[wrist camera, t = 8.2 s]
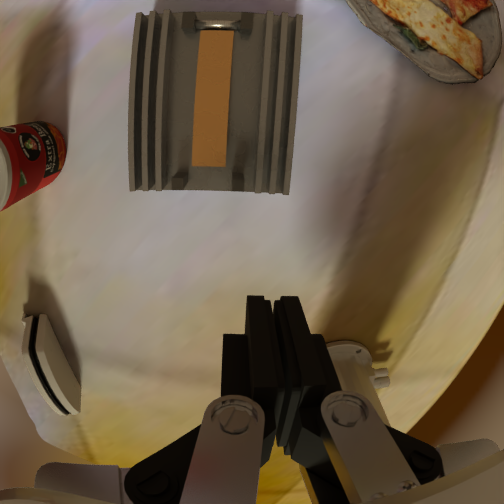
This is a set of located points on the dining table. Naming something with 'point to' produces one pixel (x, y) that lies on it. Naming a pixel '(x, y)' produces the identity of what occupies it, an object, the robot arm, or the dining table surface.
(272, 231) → the dining table surface
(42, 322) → the white curved block
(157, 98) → the heatsink
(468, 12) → the food plate
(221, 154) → the orange brown flat bar
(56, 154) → the canned food
